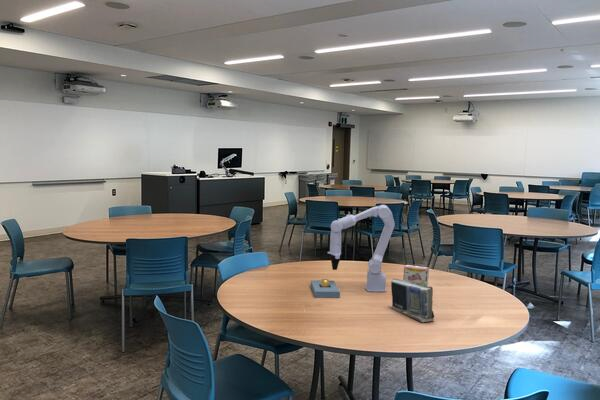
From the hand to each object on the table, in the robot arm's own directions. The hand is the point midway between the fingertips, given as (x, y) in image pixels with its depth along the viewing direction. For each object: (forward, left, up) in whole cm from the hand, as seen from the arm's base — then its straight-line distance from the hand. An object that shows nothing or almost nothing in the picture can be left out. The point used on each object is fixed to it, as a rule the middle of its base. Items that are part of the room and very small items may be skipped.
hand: (334, 269), depth 237 cm
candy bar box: (-36, +21, -10) cm, 43 cm away
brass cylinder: (+6, +8, -9) cm, 14 cm away
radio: (-27, +41, -10) cm, 50 cm away
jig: (+6, +8, -9) cm, 14 cm away
